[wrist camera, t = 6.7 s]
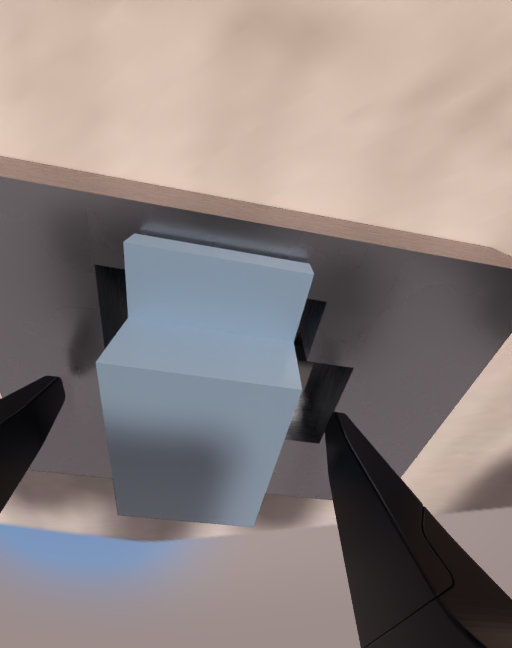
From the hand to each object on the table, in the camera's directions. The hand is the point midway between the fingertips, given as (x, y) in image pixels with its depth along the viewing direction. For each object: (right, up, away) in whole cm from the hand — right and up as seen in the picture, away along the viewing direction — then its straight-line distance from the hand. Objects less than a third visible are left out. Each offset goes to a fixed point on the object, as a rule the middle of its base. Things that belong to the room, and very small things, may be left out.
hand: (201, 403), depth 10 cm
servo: (0, +2, +2) cm, 3 cm away
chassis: (+1, +1, +3) cm, 3 cm away
